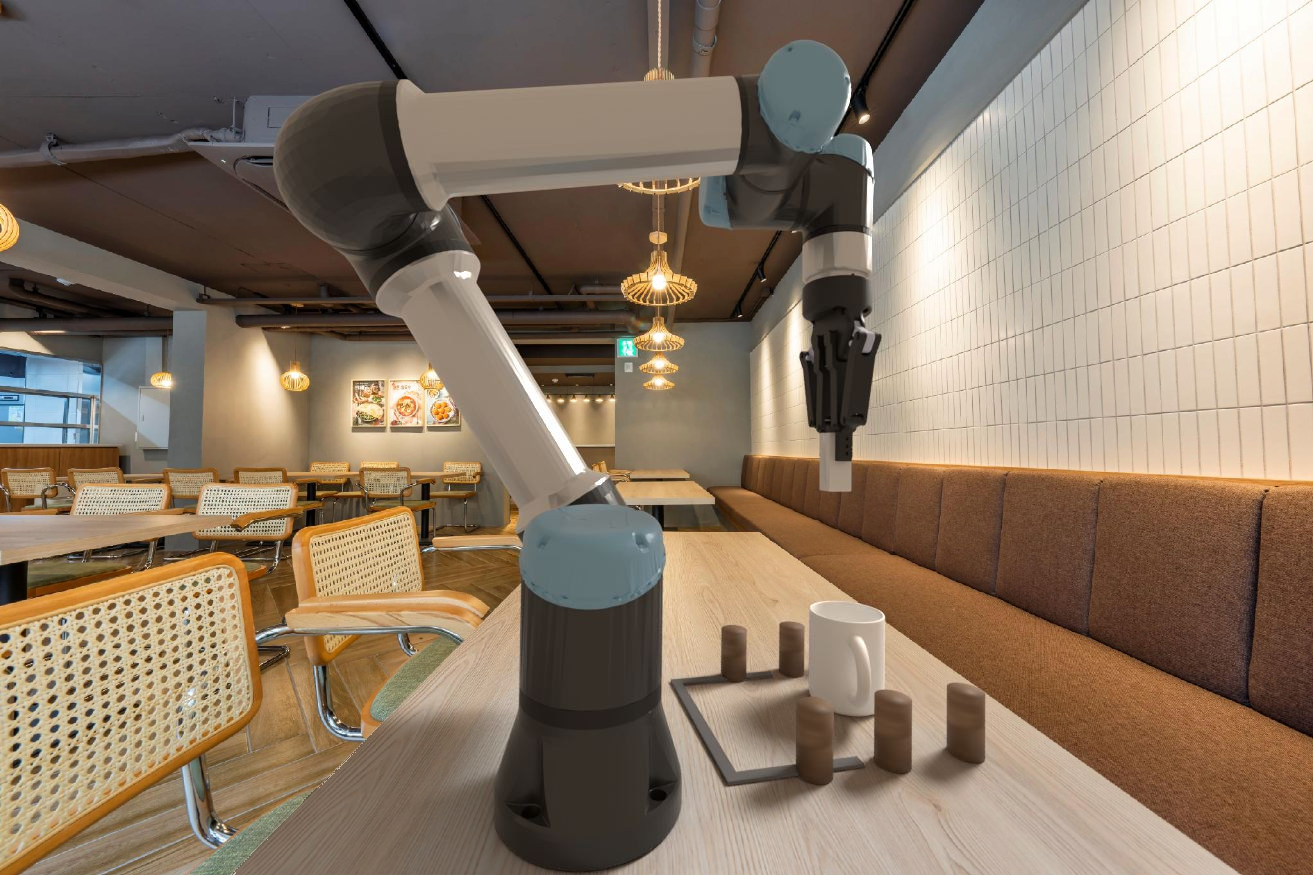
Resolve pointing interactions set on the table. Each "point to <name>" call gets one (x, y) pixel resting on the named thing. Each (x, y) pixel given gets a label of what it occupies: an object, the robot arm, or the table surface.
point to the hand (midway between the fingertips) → (835, 490)
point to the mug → (846, 655)
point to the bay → (716, 749)
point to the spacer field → (888, 712)
